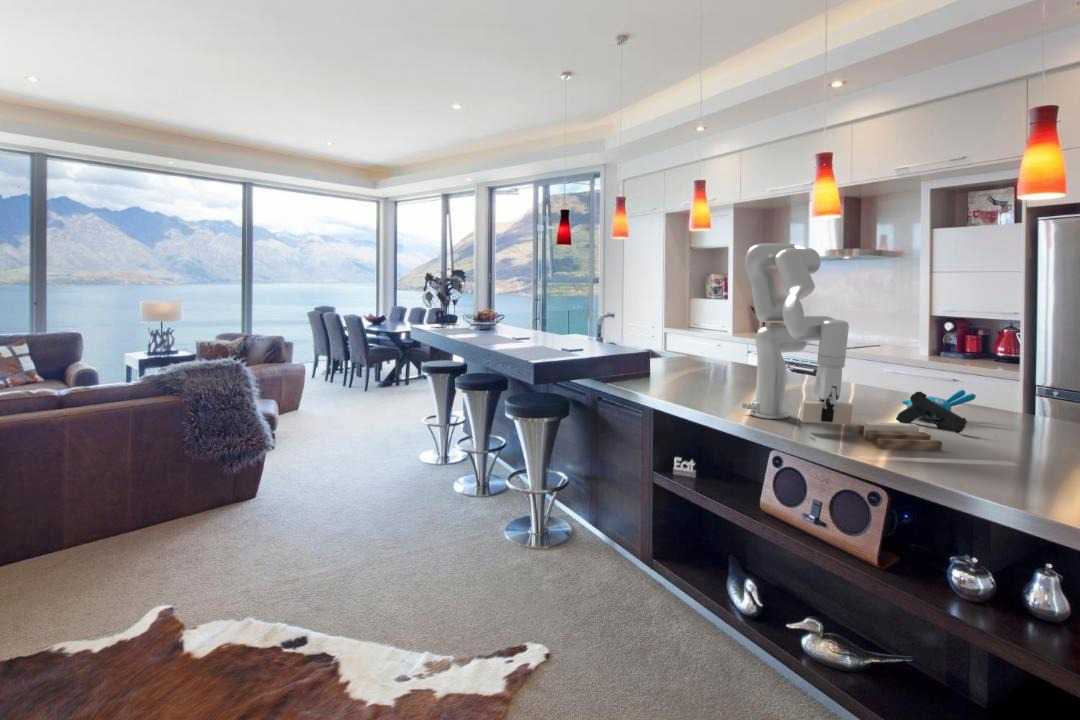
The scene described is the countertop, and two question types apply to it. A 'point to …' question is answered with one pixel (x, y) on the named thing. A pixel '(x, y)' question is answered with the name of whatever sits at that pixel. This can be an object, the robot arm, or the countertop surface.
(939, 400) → the toy
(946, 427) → the handgun
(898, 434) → the rack
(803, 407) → the clay bar
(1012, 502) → the countertop surface
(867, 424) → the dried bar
